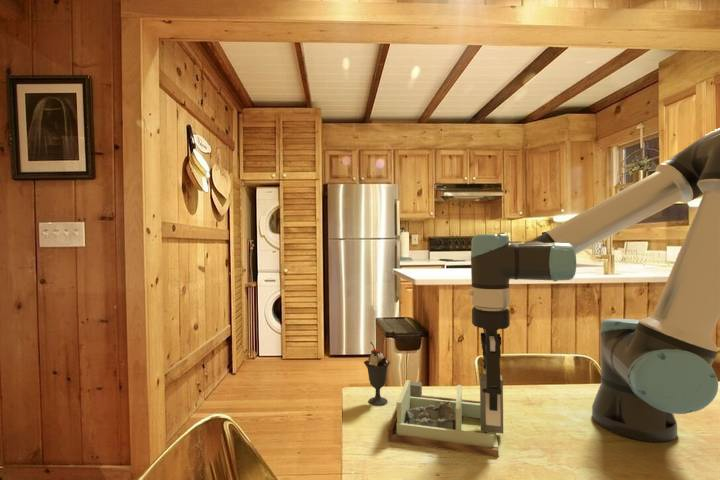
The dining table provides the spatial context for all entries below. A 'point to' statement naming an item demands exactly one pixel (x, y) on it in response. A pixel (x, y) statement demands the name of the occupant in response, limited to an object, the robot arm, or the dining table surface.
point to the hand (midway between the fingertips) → (491, 411)
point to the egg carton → (433, 416)
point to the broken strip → (418, 390)
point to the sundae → (377, 375)
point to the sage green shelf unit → (459, 411)
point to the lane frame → (436, 443)
